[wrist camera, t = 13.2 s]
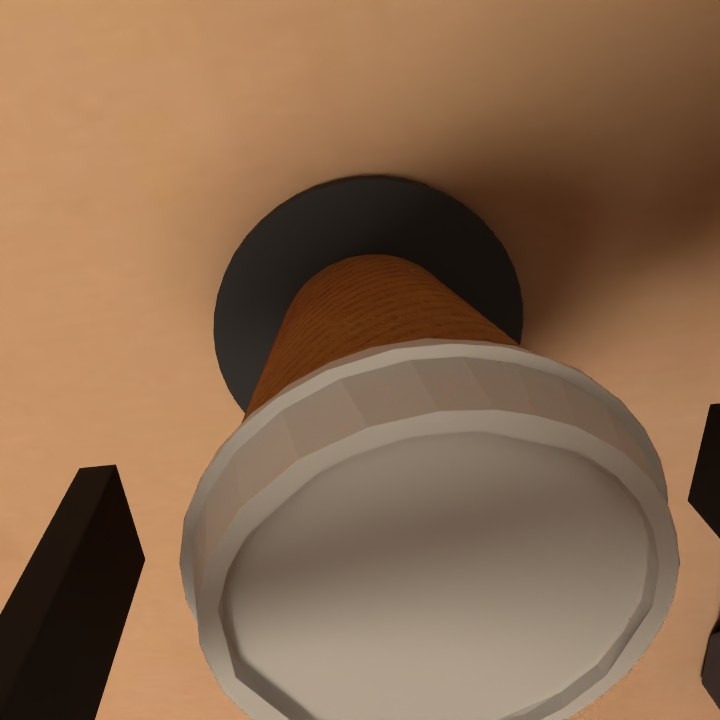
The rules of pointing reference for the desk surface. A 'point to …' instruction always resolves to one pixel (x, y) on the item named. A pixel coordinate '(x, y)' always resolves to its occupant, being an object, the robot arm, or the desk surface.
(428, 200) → the coaster
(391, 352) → the disposable coffee cup
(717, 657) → the calculator
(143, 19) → the desk surface
